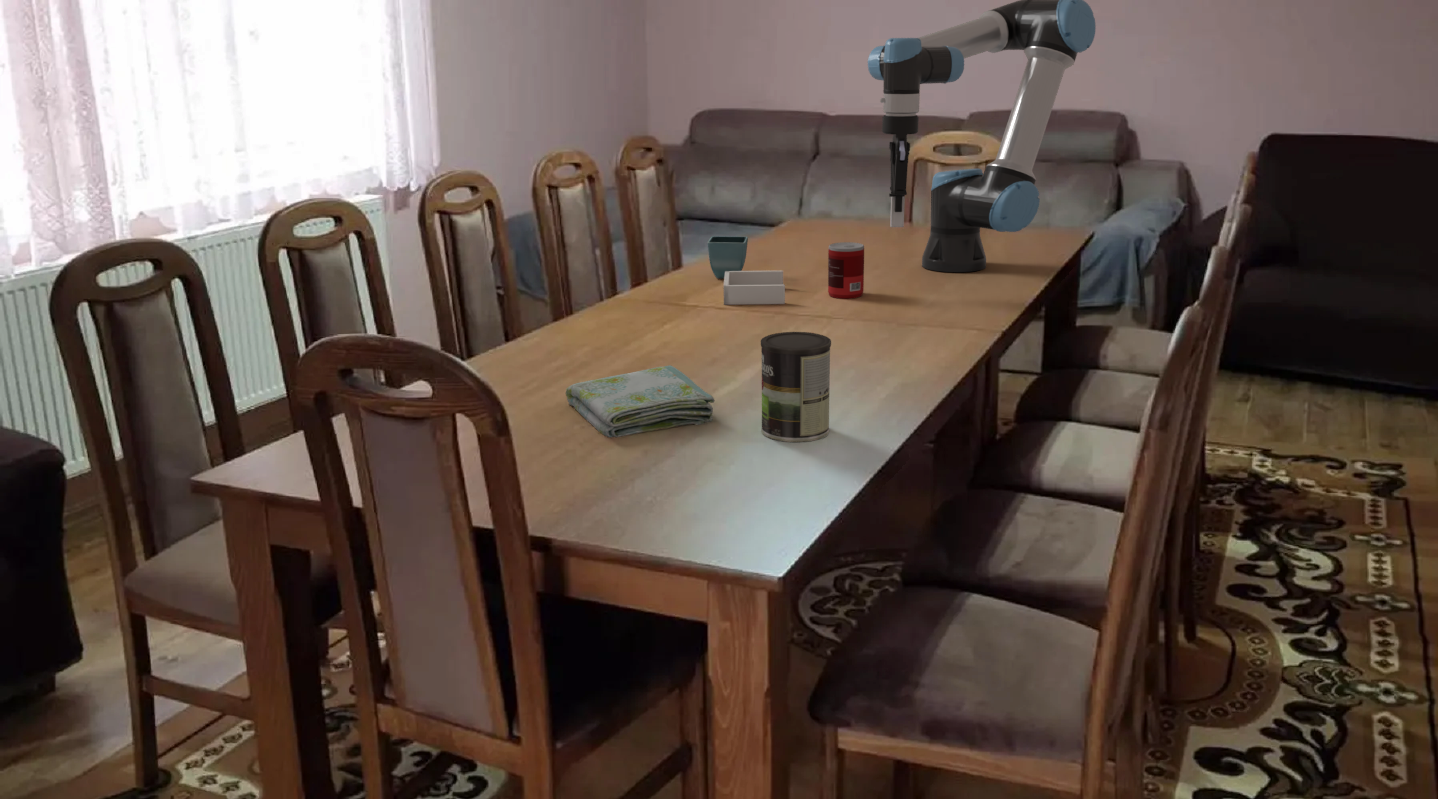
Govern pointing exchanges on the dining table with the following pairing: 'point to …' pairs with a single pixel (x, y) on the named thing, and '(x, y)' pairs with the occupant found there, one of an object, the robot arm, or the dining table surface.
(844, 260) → the canned food
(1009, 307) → the dining table surface
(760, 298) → the white open tray
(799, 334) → the coffee can
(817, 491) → the dining table surface
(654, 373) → the towel
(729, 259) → the flower pot
